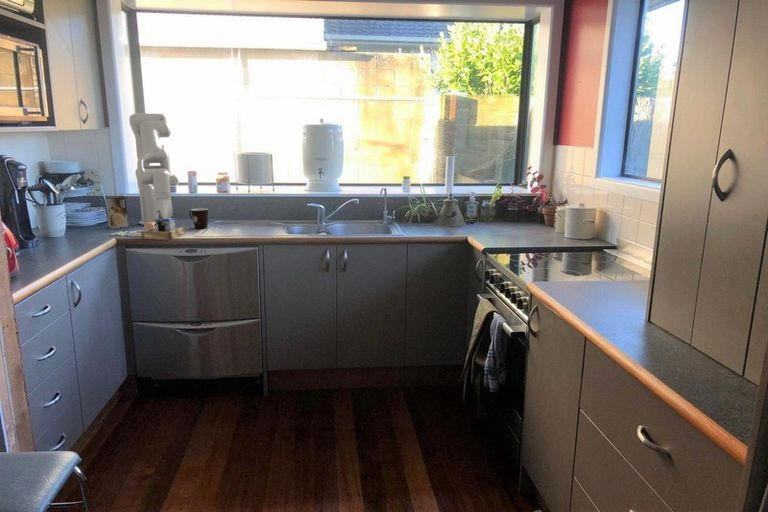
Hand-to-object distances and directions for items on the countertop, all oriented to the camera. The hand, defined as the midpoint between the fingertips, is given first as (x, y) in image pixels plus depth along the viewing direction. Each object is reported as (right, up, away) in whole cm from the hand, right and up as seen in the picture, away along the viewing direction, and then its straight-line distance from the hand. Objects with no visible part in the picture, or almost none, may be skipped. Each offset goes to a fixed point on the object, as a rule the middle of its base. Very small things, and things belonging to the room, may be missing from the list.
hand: (165, 231), depth 277 cm
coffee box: (-34, +3, +22) cm, 41 cm away
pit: (-13, -2, 0) cm, 13 cm away
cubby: (0, -3, -2) cm, 3 cm away
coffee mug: (+10, +3, +21) cm, 23 cm away
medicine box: (0, -2, +1) cm, 2 cm away
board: (-23, -1, +3) cm, 23 cm away
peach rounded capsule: (-11, 0, +9) cm, 14 cm away
